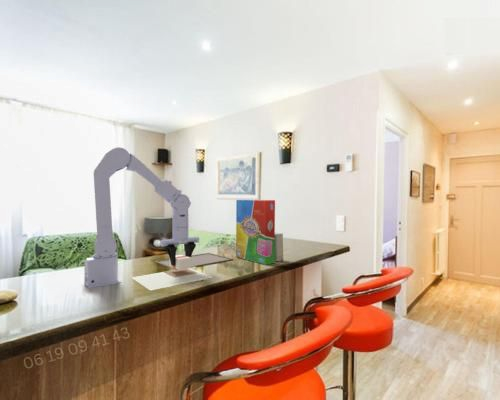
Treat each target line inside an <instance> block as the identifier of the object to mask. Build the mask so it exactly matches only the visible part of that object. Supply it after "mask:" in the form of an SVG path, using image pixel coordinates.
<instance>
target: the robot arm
mask: <svg viewBox="0 0 500 400" xmlns="http://www.w3.org/2000/svg"><path fill="white" fill-rule="evenodd" d="M125 168H126V169H125ZM123 169H125V170H126V171H131V172H135V173H136V174H138V175H139V176H141V177H142V178H143V179H145V180H146V181H147V182H148V183H150V184H151V185H152V186H154V187H153V188H154V192H155V193H156V194H158V196H160V197H161V198H163V199H164V201H166V202H167V203H169V204H170V206H171V208H172V237H171V238H169V239H163V240H160V241H159V243H160V247H162V248H163V247H164V249H165V250H166V253H167V254H168V258H169V257H170V261H171V265H173V266H175V264H176V255H177V249H178V246H176V245H183V246H184V256H188V257H191V256H192V255H193V252H194V250H195V249H196V247H197V245H196V244H197V243H200V237H199V236H193V237H189V208H190V207H191V203H192V202H191V201H190V198H189V196H188V195H186V194H185V193H184V194H183V193H182V190H181V189H177V187H176V186H174V185H173V182H172V180H167V179H165V178H164V179H161V178H160V177H159V176H158V175H156V174H155V173H154V172H153V171H152V170H151V169H150V168H149V167H147V165H146V164H145V163H143V162H142V161H141V160H140V159H138V157H136V156H135V155H133V154H132V153H129V151H128V150H127V149H125V148H124V147H119V146H118V147H113V148H112V149H110V150H109V151H108V152H106V153H105V154H104V156H103V157H102V159H101V160H100V162H99V163H98V165H97V166H96V167H95V169H94V170H93V184H94V185H93V188H94V203H95V221H96V238H95V240H94V246H93V249H94V252H95V253H93V254H92V256H90V257H87V258H85V259H84V267H83V268H84V274H83V275H84V278H83V279H84V280H83V281H84V282H83V284H84V285H86V287H87V288H88V289H93V288H98V287H105V286H110V285H116V284H121V283H122V280H120V279H119V278H118V275H119V274H118V273H119V272H118V269H119V268H118V266H119V264H118V260H119V258H118V256H119V255H118V252H116V251H117V247H118V244H117V241H116V238H115V237H114V235H113V234H114V233H113V219H112V204H111V203H112V201H111V187H110V186H111V184H110V178H111V177H112V176H113V175H114V174H115V173H117V172H119V171H121V170H123Z"/></svg>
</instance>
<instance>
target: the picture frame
mask: <svg viewBox="0 0 500 400" xmlns="http://www.w3.org/2000/svg"><path fill="white" fill-rule="evenodd" d="M191 258H192V268H193V267H197V268H198V267H203V266H208V265H214V264H220V263H226V262H230V261H234V258H231V257H226V256H223V255H220V254H215V253H212V252H205V253H199V254H192V255H191ZM154 263H155V264H157V265H160V266H163V267H167V268H170V269H172V270H177V269H175V268H173V267H171V266H169V258H168V259H161V260H154Z"/></svg>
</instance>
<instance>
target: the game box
mask: <svg viewBox="0 0 500 400" xmlns="http://www.w3.org/2000/svg"><path fill="white" fill-rule="evenodd" d="M235 201H236V202H235V204H236V205H235V206H236V209H235V210H236V211H235V213H236V215H235V216H236V217H235V219H236V221H235V223H236V225H235V226H236V227H235V229H236V230H235V232H236V233H235V235H236V236H235V237H236V238H235V247H236V249H235V257H236V258H239V259H242V260H245V261H249V262H253V263H257V264H260V263H261V265H264V264H265V265H264V266H267V264H268V265H272V264H271V263H273V264H275V262H276V261H275V233H276V232H275V230H276V224H275V223H276V200H275V199H266V200H264V199H263V200H261V199H236V200H235Z"/></svg>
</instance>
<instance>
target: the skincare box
mask: <svg viewBox="0 0 500 400" xmlns="http://www.w3.org/2000/svg"><path fill="white" fill-rule="evenodd" d="M283 234H284V233H282V232H281V233H280V232H275V262H276V261H278V262H282V261H281V260H283V261H284V238H283V237H284V235H283Z"/></svg>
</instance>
